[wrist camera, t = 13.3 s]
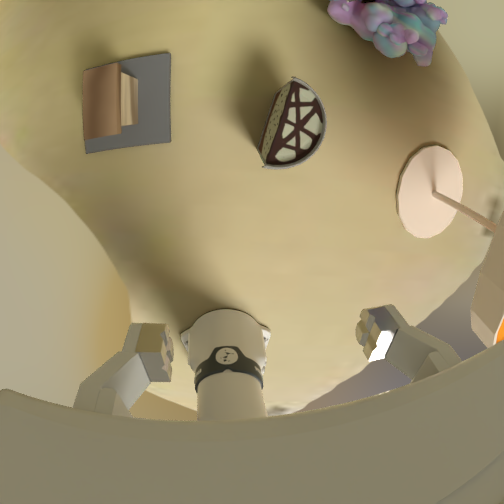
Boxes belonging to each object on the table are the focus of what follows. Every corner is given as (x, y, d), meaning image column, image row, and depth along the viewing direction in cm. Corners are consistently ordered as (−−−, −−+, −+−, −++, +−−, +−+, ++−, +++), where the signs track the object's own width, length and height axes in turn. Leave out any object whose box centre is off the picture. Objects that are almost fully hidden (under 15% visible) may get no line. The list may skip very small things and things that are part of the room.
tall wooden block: (138, 73, 30) (116, 62, 22) (138, 130, 34) (117, 134, 26) (109, 78, 29) (83, 71, 21) (110, 134, 34) (84, 140, 26)
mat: (171, 141, 36) (169, 142, 36) (88, 153, 35) (86, 153, 34) (171, 54, 30) (169, 52, 29) (86, 71, 28) (84, 70, 28)
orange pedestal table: (476, 220, 50) (562, 286, 22) (391, 279, 54) (474, 385, 26) (458, 105, 36) (584, 139, 9) (353, 153, 40) (516, 228, 13)
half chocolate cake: (291, 169, 41) (311, 185, 32) (253, 158, 39) (264, 170, 30) (315, 98, 36) (343, 93, 27) (278, 84, 34) (296, 73, 25)
